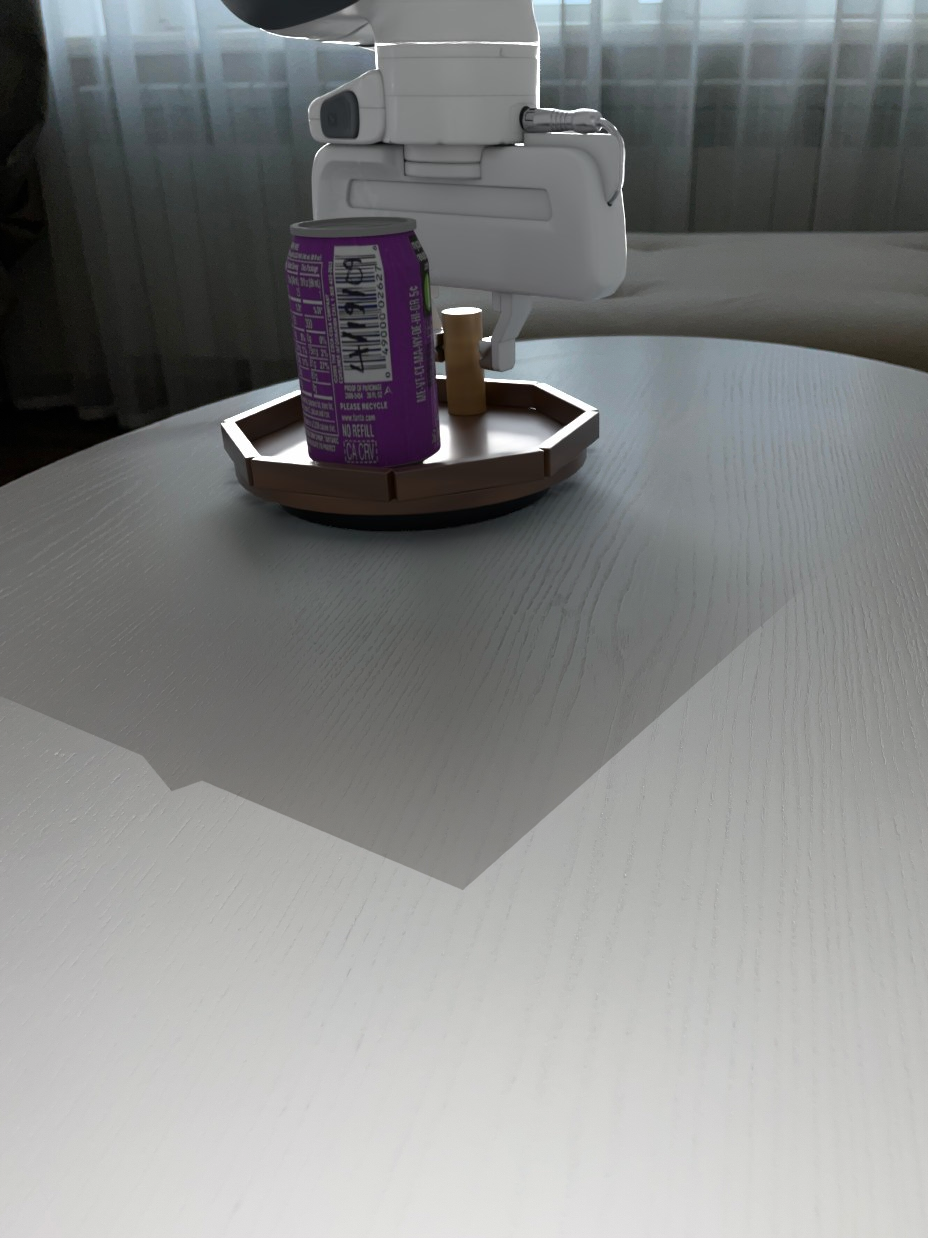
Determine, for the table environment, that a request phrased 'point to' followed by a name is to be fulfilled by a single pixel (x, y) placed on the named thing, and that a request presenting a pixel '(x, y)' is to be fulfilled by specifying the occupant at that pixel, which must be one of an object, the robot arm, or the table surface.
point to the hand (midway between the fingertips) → (466, 364)
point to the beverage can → (364, 341)
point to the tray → (450, 479)
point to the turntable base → (416, 517)
